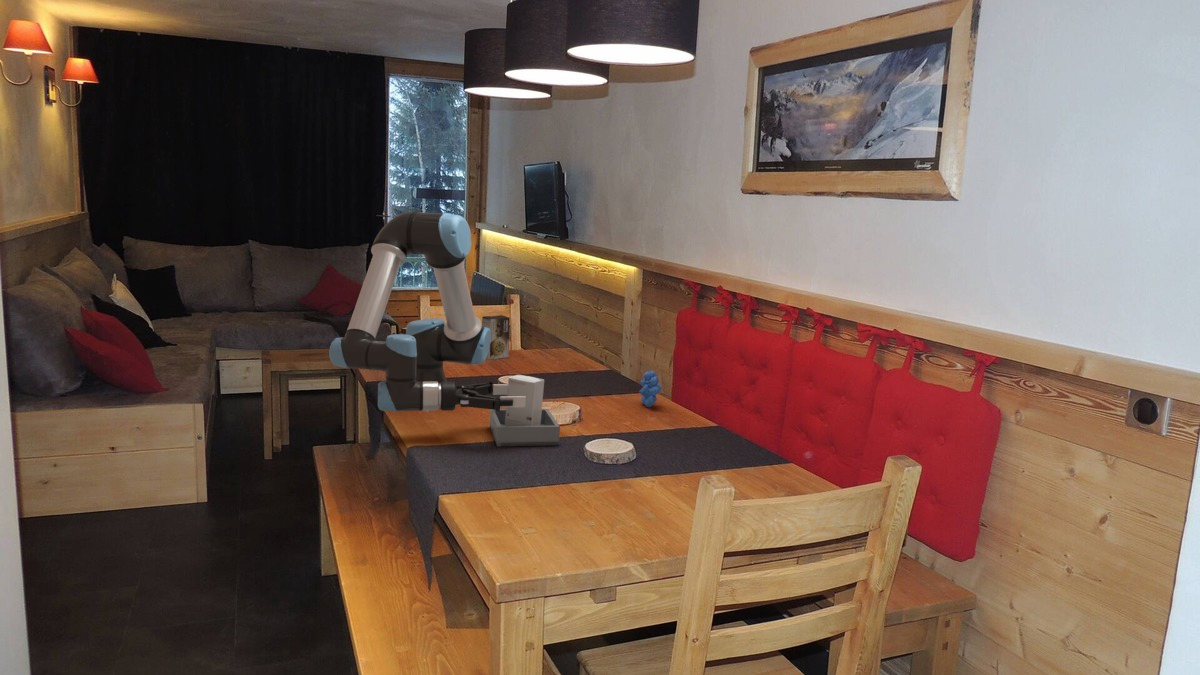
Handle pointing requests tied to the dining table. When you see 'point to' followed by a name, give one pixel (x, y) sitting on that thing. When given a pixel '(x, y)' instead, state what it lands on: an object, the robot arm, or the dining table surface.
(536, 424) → the skincare box
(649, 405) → the grapes
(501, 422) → the tote
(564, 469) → the dining table surface
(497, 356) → the coffee box
